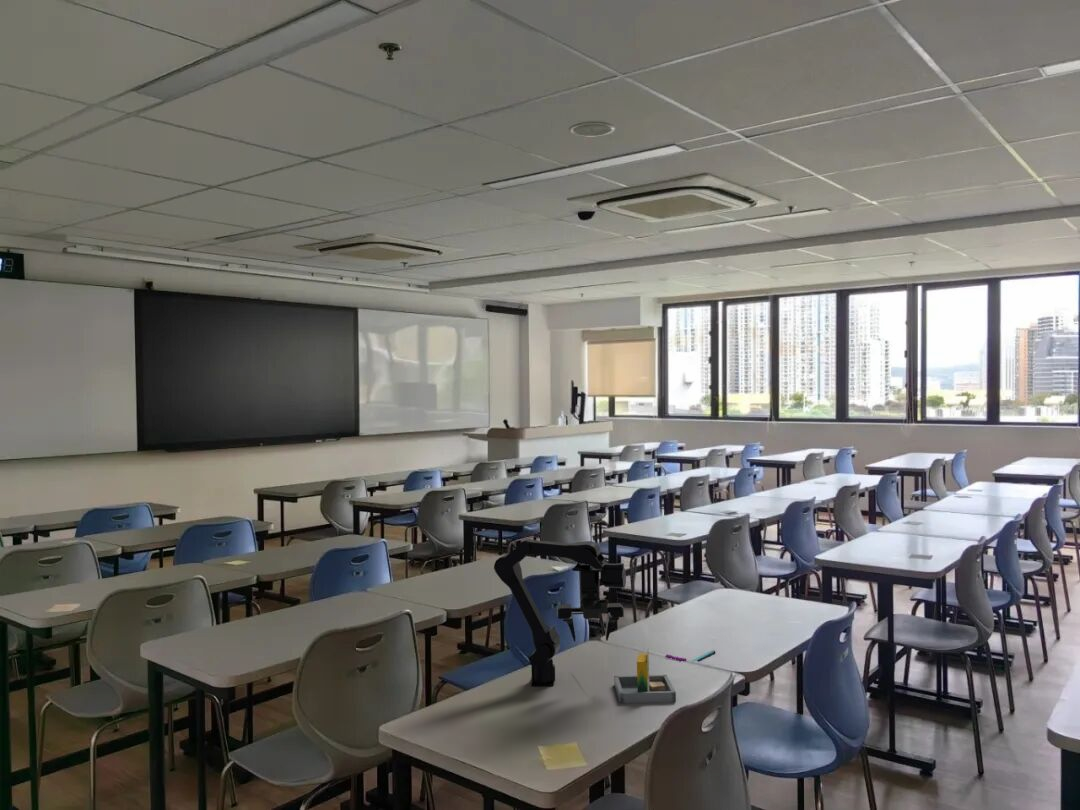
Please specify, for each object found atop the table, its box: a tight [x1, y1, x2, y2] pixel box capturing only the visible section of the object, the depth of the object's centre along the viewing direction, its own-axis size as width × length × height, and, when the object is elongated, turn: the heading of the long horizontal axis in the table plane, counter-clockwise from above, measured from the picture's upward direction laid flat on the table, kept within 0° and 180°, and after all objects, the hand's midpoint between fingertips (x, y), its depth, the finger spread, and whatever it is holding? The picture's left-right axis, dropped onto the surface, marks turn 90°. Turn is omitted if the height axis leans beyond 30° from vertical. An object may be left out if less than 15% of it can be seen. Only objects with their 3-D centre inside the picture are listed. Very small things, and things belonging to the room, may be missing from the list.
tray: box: [613, 674, 677, 704], centre depth 220 cm, size 15×14×3 cm
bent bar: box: [665, 649, 716, 663], centre depth 248 cm, size 29×2×10 cm
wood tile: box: [649, 681, 666, 691], centre depth 223 cm, size 4×4×1 cm
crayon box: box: [636, 649, 650, 692], centre depth 220 cm, size 7×3×12 cm, turn 169°
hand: (590, 640), depth 228 cm, fingers open, 9 cm apart
